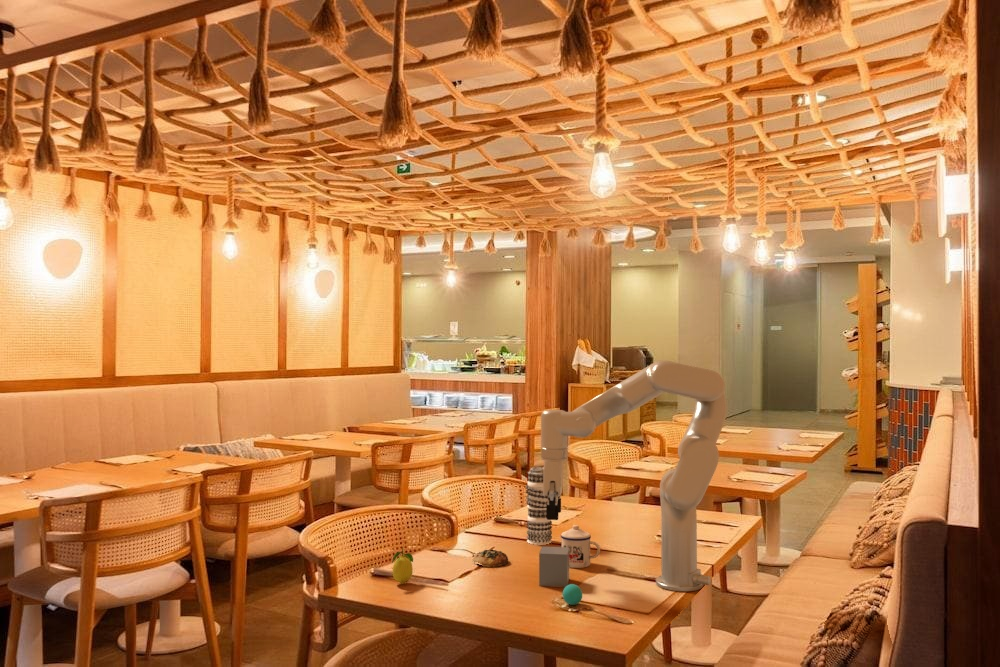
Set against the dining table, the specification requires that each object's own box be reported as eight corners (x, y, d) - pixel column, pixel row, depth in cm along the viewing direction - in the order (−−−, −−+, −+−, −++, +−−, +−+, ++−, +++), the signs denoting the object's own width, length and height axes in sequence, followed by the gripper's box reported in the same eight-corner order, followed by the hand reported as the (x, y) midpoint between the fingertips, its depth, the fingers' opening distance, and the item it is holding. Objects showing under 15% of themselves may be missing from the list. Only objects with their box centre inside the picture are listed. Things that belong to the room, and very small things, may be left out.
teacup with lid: (556, 566, 224) (556, 527, 224) (566, 559, 232) (566, 521, 232) (595, 571, 219) (595, 531, 219) (603, 563, 227) (603, 524, 228)
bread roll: (515, 560, 230) (513, 545, 230) (496, 574, 221) (495, 558, 220) (484, 557, 236) (482, 541, 235) (465, 570, 226) (463, 554, 226)
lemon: (391, 588, 203) (391, 551, 203) (388, 582, 208) (389, 545, 209) (416, 586, 204) (416, 549, 205) (412, 580, 210) (412, 544, 210)
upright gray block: (569, 578, 211) (569, 547, 211) (567, 587, 204) (567, 554, 204) (541, 577, 212) (541, 546, 213) (539, 585, 205) (539, 553, 205)
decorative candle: (540, 537, 260) (539, 465, 261) (558, 542, 253) (558, 468, 254) (520, 541, 254) (520, 467, 255) (538, 546, 247) (538, 470, 248)
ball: (586, 604, 190) (586, 584, 190) (575, 609, 186) (575, 588, 186) (569, 600, 193) (569, 580, 193) (558, 605, 189) (558, 585, 189)
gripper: (543, 450, 218) (543, 509, 218) (537, 458, 201) (537, 522, 201) (569, 450, 217) (569, 510, 217) (565, 458, 200) (565, 523, 200)
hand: (553, 515), depth 209 cm, fingers open, 9 cm apart
